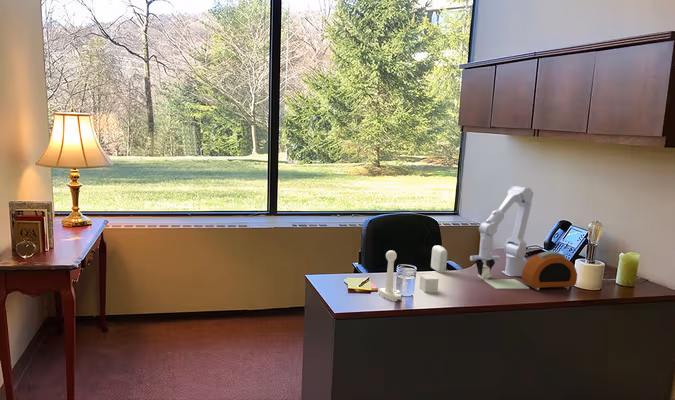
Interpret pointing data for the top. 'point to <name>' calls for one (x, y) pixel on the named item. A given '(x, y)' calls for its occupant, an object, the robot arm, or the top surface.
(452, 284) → the top surface
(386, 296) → the joystick
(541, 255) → the orange toaster
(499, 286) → the rubber mat
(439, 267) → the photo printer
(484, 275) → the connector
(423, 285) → the white cube
